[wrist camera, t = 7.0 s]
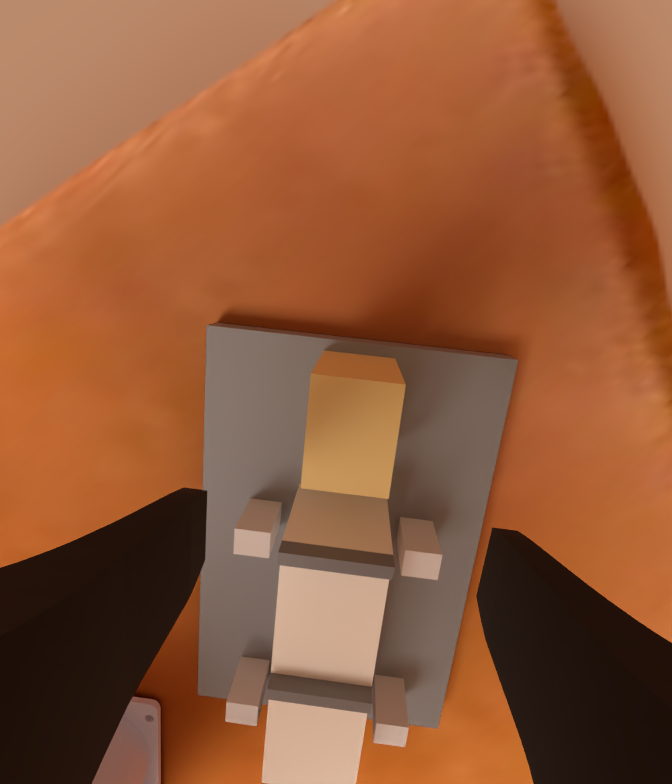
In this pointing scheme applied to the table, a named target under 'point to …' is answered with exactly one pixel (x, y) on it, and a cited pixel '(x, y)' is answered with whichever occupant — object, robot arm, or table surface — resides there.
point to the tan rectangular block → (352, 424)
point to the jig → (405, 504)
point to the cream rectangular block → (326, 636)
